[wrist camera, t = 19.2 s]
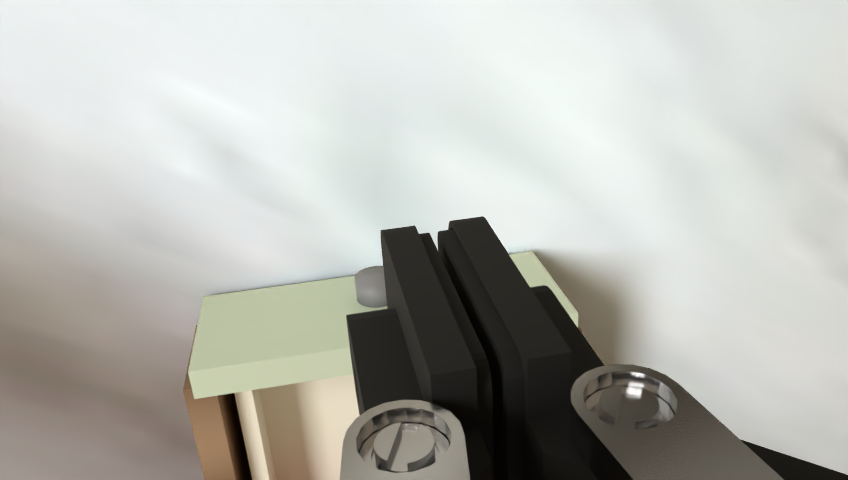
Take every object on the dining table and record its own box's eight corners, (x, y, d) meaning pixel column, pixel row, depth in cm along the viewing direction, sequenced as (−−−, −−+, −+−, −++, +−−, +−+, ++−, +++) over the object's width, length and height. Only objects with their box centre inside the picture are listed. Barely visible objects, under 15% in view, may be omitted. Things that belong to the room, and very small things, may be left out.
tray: (199, 275, 32) (182, 348, 27) (531, 231, 34) (578, 290, 29) (266, 589, 40) (263, 694, 34) (534, 538, 42) (572, 630, 36)
